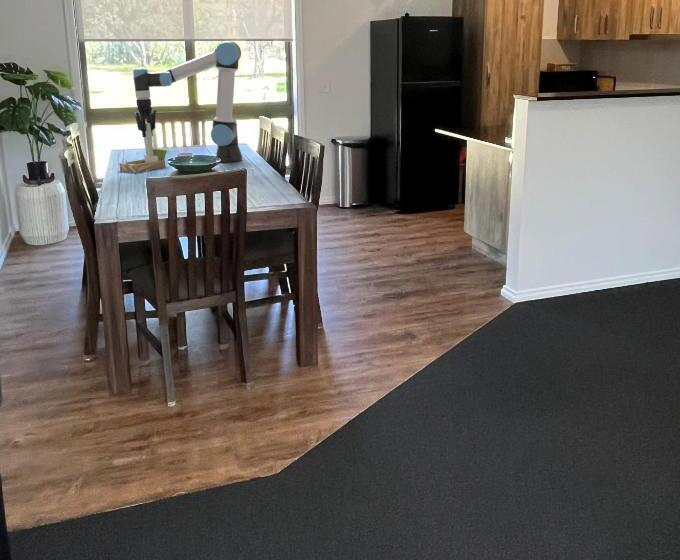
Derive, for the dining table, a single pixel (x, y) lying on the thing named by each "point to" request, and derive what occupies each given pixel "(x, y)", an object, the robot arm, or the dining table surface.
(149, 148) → the puller
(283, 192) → the dining table surface
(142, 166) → the wooden tray
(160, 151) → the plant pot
